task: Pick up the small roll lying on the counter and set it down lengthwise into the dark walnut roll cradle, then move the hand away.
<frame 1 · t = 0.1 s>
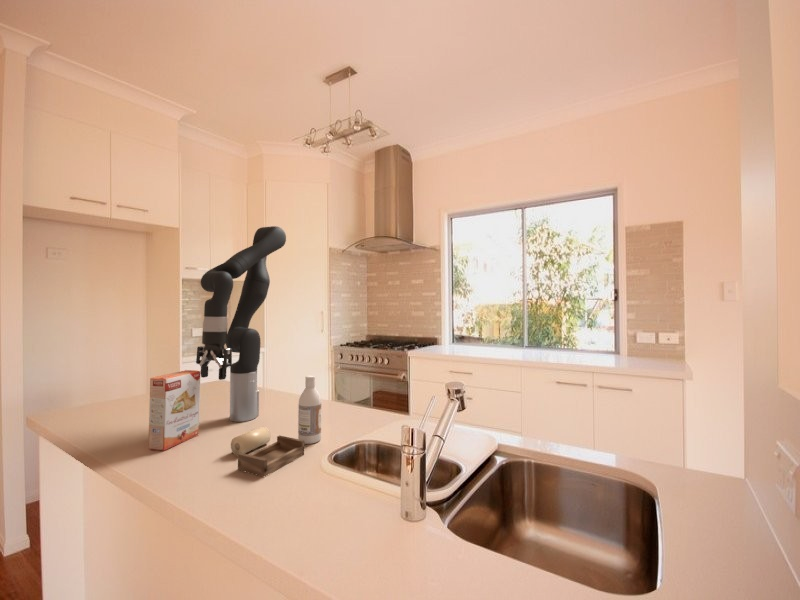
hand: (213, 378, 126), 17 cm above the countertop, tool pointing down, fingers open, 8 cm apart
bath foam: (309, 440, 116), on the countertop
cradle: (272, 461, 101), on the countertop
cracker box: (175, 442, 114), on the countertop
roll: (251, 449, 109), on the countertop
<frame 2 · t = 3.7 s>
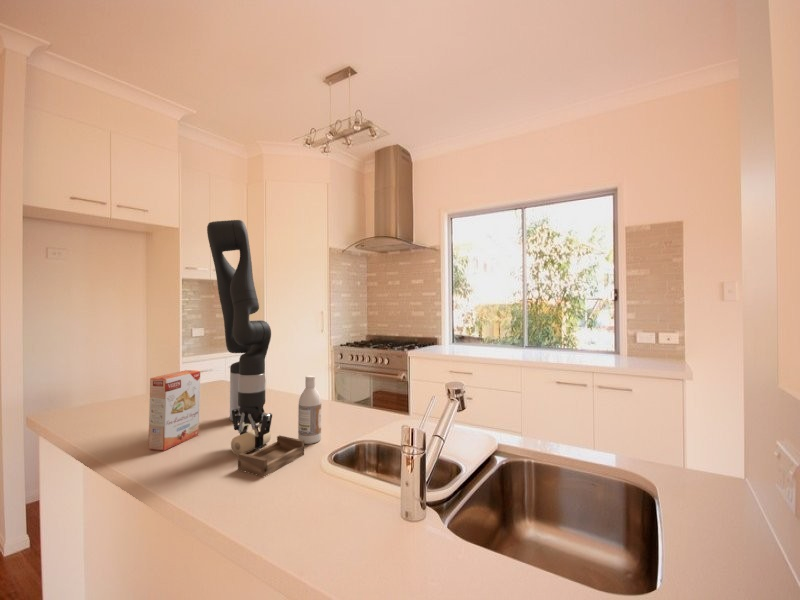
hand: (251, 446, 109), 1 cm above the countertop, tool pointing down, fingers closed on roll, 5 cm apart
roll: (251, 449, 109), on the countertop, touching gripper
everything else where it was.
when the fingers open (4 cm above the countertop, at t = 8.0 s): roll drops 2 cm, resting on cradle.
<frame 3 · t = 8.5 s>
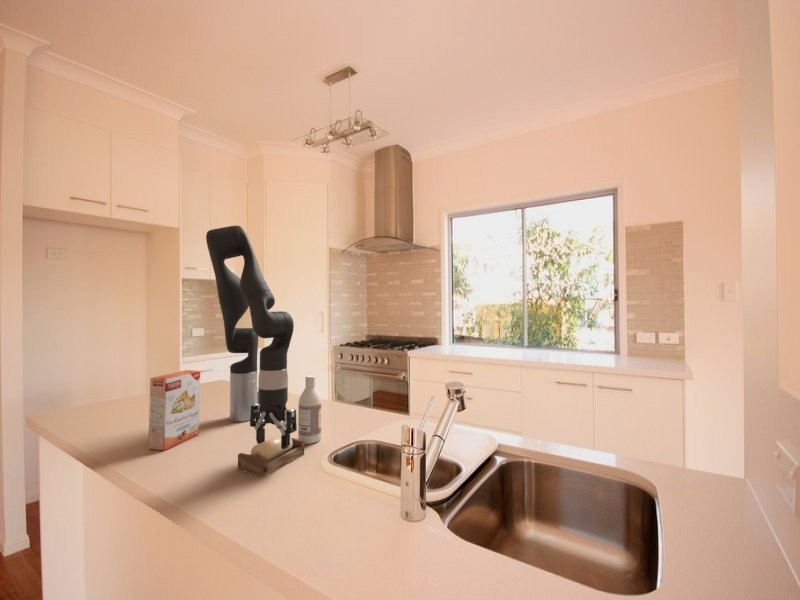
hand: (272, 445, 101), 4 cm above the countertop, tool pointing down, fingers open, 8 cm apart
roll: (272, 458, 101), point 1 cm above the countertop, touching cradle
everything else where it was.
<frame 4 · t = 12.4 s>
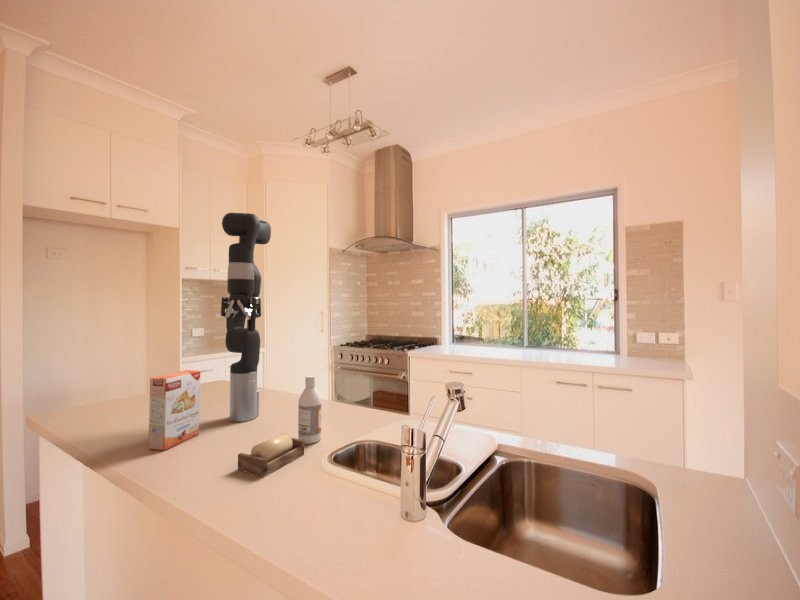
hand: (240, 331, 114), 34 cm above the countertop, tool pointing down, fingers open, 8 cm apart
nothing on the countertop moved.
at the end: roll 0.0 cm off-centre on the cradle, point 1.0 cm above the cradle's base; roll touching cradle; the gripper is holding nothing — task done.
